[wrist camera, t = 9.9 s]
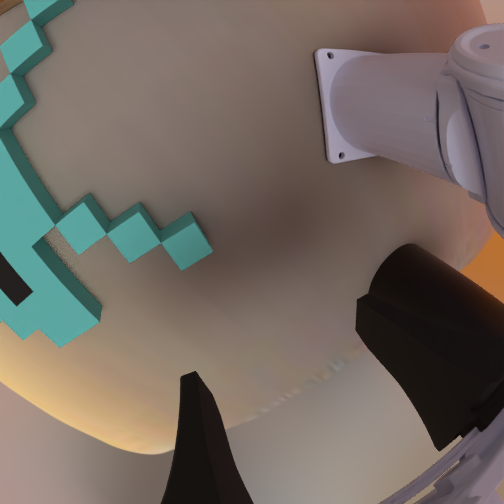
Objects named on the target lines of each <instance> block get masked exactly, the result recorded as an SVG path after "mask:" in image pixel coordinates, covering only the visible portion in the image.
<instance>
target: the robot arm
mask: <svg viewBox="0 0 504 504" xmlns="http://www.w3.org/2000/svg"><path fill="white" fill-rule="evenodd" d="M327 53H329V54H330V56H331V57H330V59H329V58H328V56H327ZM315 61H316V67H317V74H318V81H319V88H320V95H321V103H322V112H323V121H324V130H325V140H326V152H327V159H328V161H329V162H331V163H333V164H337V163H342V162H347V161H352V160H357V159H362V158H368V157H373V156H381V157H384V158H387V159H390V160H393V161H396V162H399V163H402V164H404V165H407V166H410V167H413V168H416V169H418V170H421V171H424V172H426V173H429V174H431V175H434V176H436V177H439V178H441V179H444V180H446V181H448V182H451V183H453V184H456V185H458V186H460V187H462V188H464V189H466V190H467V191H468V194H469V197H471V198H473V199H475V200H477V201H479V202H481V203H483V204H485V206H486V211H487V215H488V218H489V220H490V222H491V224H492V226H493V227H494V228H495V230H496V231H497V232H498V234H499V235H500V236H501V237H502V238H503V239H504V23H494V24H486V25H481V26H477V27H474V28H471V29H469V30H467V31H465V32H463V33H462V34H460V35H459V36H458V37H457V38H456V40H455V42H454V44H453V45H452V46H451V48H450V49H449V51H448V53H394V54H382V53H374V52H366V51H356V50H343V49H324V48H322V49H318V50H316V52H315ZM340 152H341V157H340V158H339V153H340ZM355 330H356V332H357V333H358V335H359V336H360V338H361V339H362V341H363V342H364V343H365V345H366V346H367V348H368V349H369V350H370V351H371V352H372V353H373V354H374V355H375V357H376V358H377V359H378V360H379V361H380V363H381V364H382V365H383V366H384V367H385V368H386V369H387V370H388V372H389V373H390V374H391V375H392V376H393V377H394V378H395V379H396V381H397V382H398V383H399V385H400V386H401V387H402V389H403V390H404V392H405V393H406V395H407V396H408V397H409V399H410V400H411V402H412V404H413V406H414V407H415V409H416V410H417V412H418V414H419V416H420V417H421V419H422V421H423V423H424V424H425V426H426V428H427V431H428V433H429V435H430V437H431V439H432V441H433V444H434V446H435V447H436V449H437V450H438V451H441V450H442V449H443V448H445V447H446V446H447V445H449V443H451V442H452V441H453V440H455V439H456V438H457V437H458V436H459V435H461V437H462V438H463V439H462V440H461V441H460V442H459V443H458V444H457V445H456V446H454V447H453V448H452V449H451V450H450V451H449V452H448V453H447V454H445V455H444V456H443V457H442V458H441V459H440V460H438V462H436V463H435V464H434V465H433V466H431V467H430V468H429V469H428V470H426V471H425V472H424V473H422V474H421V475H420V476H418V477H417V478H416V479H414V480H413V481H412V482H410V483H409V484H407V485H406V486H405V487H403V488H402V489H400V490H399V491H398V492H396V493H394V494H393V495H391V496H390V497H388V498H387V499H385V500H383V501H382V502H380V503H378V504H404V503H405V502H406V501H408V500H409V499H411V498H412V497H414V496H415V495H416V494H418V493H419V492H420V491H421V490H423V489H424V488H426V487H427V486H428V485H430V484H431V483H432V482H433V481H434V480H436V479H437V478H438V477H439V476H440V475H442V474H443V473H444V472H445V471H446V470H448V468H450V467H451V466H452V465H453V464H454V463H455V462H456V461H458V460H459V463H458V464H456V465H455V466H454V467H452V468H451V469H449V470H448V471H447V472H446V473H445V474H443V475H442V476H441V478H439V479H438V480H437V481H436V482H435V483H434V485H433V486H434V487H435V489H434V490H432V491H431V492H430V493H428V494H427V495H426V496H424V497H423V498H421V499H420V500H418V501H417V502H415V503H414V504H504V502H503V500H502V499H501V498H500V496H499V495H498V493H497V492H496V491H495V490H496V488H497V487H498V486H499V484H500V483H501V482H502V480H503V479H504V338H495V337H486V336H479V335H473V334H468V333H463V332H459V331H455V330H452V329H449V328H445V327H442V326H439V325H436V324H433V323H431V322H428V321H426V320H423V319H421V318H418V317H416V316H414V315H412V314H409V313H407V312H405V311H403V310H401V309H399V308H397V307H395V306H393V305H391V304H388V303H386V302H384V301H382V300H380V299H378V298H376V297H374V296H372V295H370V294H366V295H364V296H362V297H361V298H359V299H357V310H356V329H355ZM161 504H253V501H252V499H251V497H250V495H249V493H248V491H247V490H246V487H245V485H244V483H243V481H242V479H241V477H240V474H239V472H238V470H237V467H236V465H235V462H234V459H233V456H232V453H231V450H230V446H229V442H228V439H227V436H226V432H225V429H224V425H223V421H222V418H221V415H220V412H219V410H218V407H217V405H216V402H215V399H214V397H213V395H212V393H211V392H210V390H209V389H208V388H207V386H206V385H205V383H204V382H203V381H202V379H201V378H200V376H199V375H198V373H197V372H196V371H194V372H191V373H189V374H186V375H183V376H181V378H180V407H179V419H178V430H177V437H176V444H175V451H174V456H173V462H172V467H171V471H170V475H169V479H168V482H167V486H166V490H165V493H164V496H163V499H162V502H161Z"/></svg>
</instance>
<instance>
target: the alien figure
mask: <svg viewBox="0 0 504 504" xmlns="http://www.w3.org/2000/svg"><path fill="white" fill-rule="evenodd" d="M23 1H24V3H25V6H26V8H27V11H28V13H29V16H30V18H31V20H30V21H29V22H28V23H26V24H25V25H24V26H23V27H21V28H20V29H19V30H18V31H17V32H16V33H14V34H13V35H12V36H11V37H10V38H9V39H8V40H7V41H5V42H4V43H3V44H2V45H1V46H0V49H1V52H2V54H3V57H4V59H5V62H6V64H7V67H8V69H9V71H10V74H9V75H8V76H7V77H6V78H5V79H4V80H3V81H2V82H1V83H0V322H1V321H2V320H3V321H4V322H5V323H6V324H7V325H8V326H9V327H10V328H11V329H12V330H13V331H14V332H15V333H16V334H17V335H18V336H19V337H20V338H21V339H22V340H24V339H26V338H27V337H28V336H30V335H31V334H32V333H33V332H35V331H36V330H37V329H39V330H41V331H42V332H43V333H44V334H45V335H46V336H47V337H48V338H49V339H50V340H52V341H53V342H54V343H55V344H56V345H57V346H58V347H60V348H61V347H62V346H64V345H65V344H67V343H68V342H70V341H71V340H73V339H75V338H76V337H78V336H79V335H81V334H82V333H84V332H85V331H87V330H88V329H90V328H92V327H93V326H95V325H96V324H98V323H99V322H100V317H101V310H102V305H101V304H100V303H99V302H98V301H97V300H96V299H95V298H94V297H93V296H92V295H91V294H90V293H89V292H88V290H87V289H86V288H85V287H84V286H83V285H82V284H81V283H80V282H79V281H78V279H77V278H76V277H75V276H74V275H73V274H72V273H71V271H70V270H69V269H68V268H67V267H66V266H65V264H64V263H63V262H62V261H61V260H60V258H59V257H58V256H57V255H56V254H55V252H54V251H53V250H52V249H51V247H50V246H49V245H48V244H47V242H46V241H45V240H44V238H43V237H42V236H44V235H45V234H46V233H47V232H48V231H49V230H50V229H51V228H53V227H54V226H56V227H57V228H58V230H59V231H60V232H61V234H62V235H63V236H64V238H65V239H66V240H67V241H68V243H69V244H70V245H71V247H72V248H73V249H74V250H75V252H76V253H77V254H78V255H79V254H81V253H82V252H83V251H84V250H86V249H87V248H88V247H90V246H91V245H92V244H94V243H95V242H97V241H98V240H99V239H101V238H102V237H103V236H105V235H106V234H107V235H108V236H109V238H110V239H111V240H112V242H113V243H114V244H115V245H116V247H117V248H118V249H119V251H120V252H121V253H122V254H123V256H124V257H125V258H126V259H127V261H128V262H129V263H131V262H133V261H134V260H136V259H137V258H139V257H140V256H142V255H143V254H145V253H146V252H148V251H150V250H151V249H153V248H154V247H156V246H157V245H159V244H160V243H161V244H162V245H163V247H164V248H165V249H166V251H167V252H168V253H169V255H170V256H171V258H172V259H173V260H174V262H175V263H176V264H177V266H178V267H179V268H180V270H181V271H182V270H184V269H186V268H187V267H189V266H191V265H192V264H194V263H196V262H197V261H199V260H201V259H202V258H204V257H205V256H207V255H209V254H210V253H212V252H213V250H212V248H211V246H210V244H209V241H208V239H207V238H206V236H205V235H204V233H203V231H202V230H201V228H200V227H199V225H198V223H197V222H196V220H195V219H194V217H193V215H192V214H191V212H189V213H187V214H185V215H184V216H182V217H181V218H179V219H177V220H176V221H174V222H173V223H171V224H169V225H168V226H166V227H165V228H163V229H161V230H160V231H159V229H158V228H157V226H156V225H155V223H154V222H153V220H152V219H151V218H150V216H149V215H148V213H147V212H146V210H145V209H144V207H143V206H142V204H141V203H140V202H139V203H138V204H136V205H135V206H133V207H132V208H130V209H129V210H127V211H126V212H124V213H123V214H121V215H120V216H119V217H117V218H116V219H114V220H113V221H111V222H110V221H109V220H108V218H107V217H106V215H105V214H104V213H103V211H102V210H101V208H100V207H99V205H98V204H97V203H96V201H95V200H94V198H93V197H92V195H91V194H90V193H89V194H88V195H87V196H85V197H84V198H83V199H81V200H80V201H79V202H78V203H76V204H75V205H74V206H73V207H71V208H70V209H69V210H68V211H67V212H65V213H64V214H63V213H62V212H61V210H60V209H59V207H58V206H57V205H56V203H55V202H54V200H53V199H52V197H51V196H50V194H49V193H48V191H47V190H46V188H45V187H44V185H43V184H42V182H41V181H40V179H39V177H38V176H37V174H36V173H35V171H34V169H33V168H32V166H31V164H30V163H29V161H28V159H27V158H26V156H25V154H24V153H23V151H22V149H21V147H20V146H19V144H18V142H17V140H16V138H15V136H14V135H13V133H12V131H11V129H10V128H11V127H12V126H13V125H14V124H15V123H16V122H17V121H18V120H19V119H20V118H21V117H22V116H23V115H24V114H25V113H26V112H27V111H28V110H29V109H30V108H32V107H33V106H34V105H35V104H36V102H35V100H34V98H33V96H32V94H31V92H30V90H29V88H28V86H27V84H26V82H25V80H24V77H23V76H24V75H25V74H26V73H27V72H28V71H29V70H30V69H32V68H33V67H34V66H35V65H36V64H38V63H39V62H40V61H41V60H42V59H44V58H45V57H46V56H48V55H49V54H50V53H51V52H53V51H52V49H51V47H50V45H49V43H48V41H47V39H46V36H45V34H44V32H43V30H42V28H41V27H42V26H43V25H45V24H46V23H47V22H49V21H50V20H52V19H53V18H54V17H56V16H57V15H59V14H60V13H62V12H63V11H65V10H66V9H68V8H69V7H71V6H72V5H74V4H73V2H72V0H23Z"/></svg>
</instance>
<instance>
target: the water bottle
mask: <svg viewBox="0 0 504 504" xmlns="http://www.w3.org/2000/svg"><path fill="white" fill-rule="evenodd" d="M369 294H370V295H372V296H374V297H376V298H378V299H380V300H382V301H384V302H386V303H388V304H391V305H393V306H395V307H397V308H399V309H401V310H403V311H405V312H407V313H409V314H412V315H414V316H416V317H418V318H421V319H423V320H426V321H428V322H431V323H433V324H436V325H439V326H442V327H445V328H449V329H452V330H455V331H459V332H463V333H468V334H473V335H479V336H486V337H495V338H504V304H503V303H502V302H501V301H499V300H498V299H497V298H495V297H494V296H493V295H491V294H490V293H488V292H487V291H486V290H484V289H483V288H482V287H480V286H479V285H477V284H476V283H474V282H473V281H472V280H470V279H469V278H467V277H466V276H464V275H463V274H461V273H460V272H458V271H457V270H455V269H454V268H452V267H451V266H449V265H448V264H446V263H445V262H443V261H442V260H440V259H438V258H437V257H435V256H434V255H432V254H430V253H429V252H427V251H426V250H424V249H422V248H421V247H419V246H417V245H415V244H407V245H404V246H402V247H400V248H398V249H397V250H395V251H394V252H393V253H392V254H391V255H390V256H389V257H388V258H387V259H386V260H385V261H384V262H383V264H382V265H381V266H380V268H379V269H378V271H377V273H376V274H375V276H374V278H373V281H372V283H371V286H370V290H369Z"/></svg>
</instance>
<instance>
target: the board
mask: <svg viewBox="0 0 504 504" xmlns="http://www.w3.org/2000/svg"><path fill="white" fill-rule="evenodd" d="M22 1H23V0H0V15H1V14H3V13H4V12H6V11H7V10H9V9H11V8H12V7H14V6H15V5H17V4H19V3H21V2H22Z"/></svg>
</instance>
